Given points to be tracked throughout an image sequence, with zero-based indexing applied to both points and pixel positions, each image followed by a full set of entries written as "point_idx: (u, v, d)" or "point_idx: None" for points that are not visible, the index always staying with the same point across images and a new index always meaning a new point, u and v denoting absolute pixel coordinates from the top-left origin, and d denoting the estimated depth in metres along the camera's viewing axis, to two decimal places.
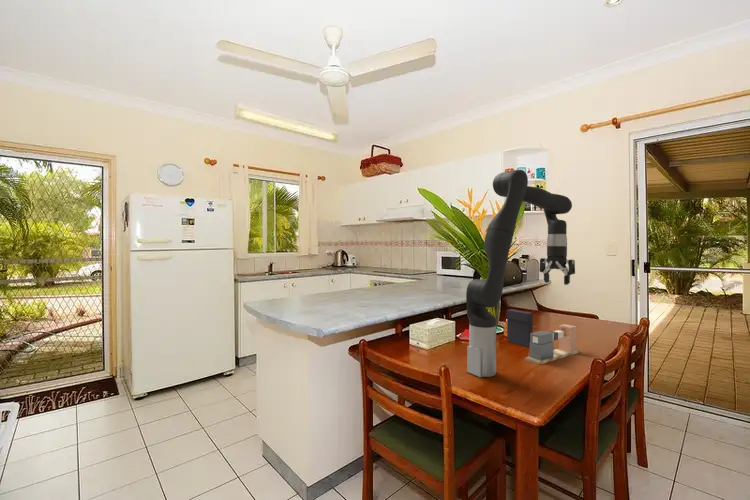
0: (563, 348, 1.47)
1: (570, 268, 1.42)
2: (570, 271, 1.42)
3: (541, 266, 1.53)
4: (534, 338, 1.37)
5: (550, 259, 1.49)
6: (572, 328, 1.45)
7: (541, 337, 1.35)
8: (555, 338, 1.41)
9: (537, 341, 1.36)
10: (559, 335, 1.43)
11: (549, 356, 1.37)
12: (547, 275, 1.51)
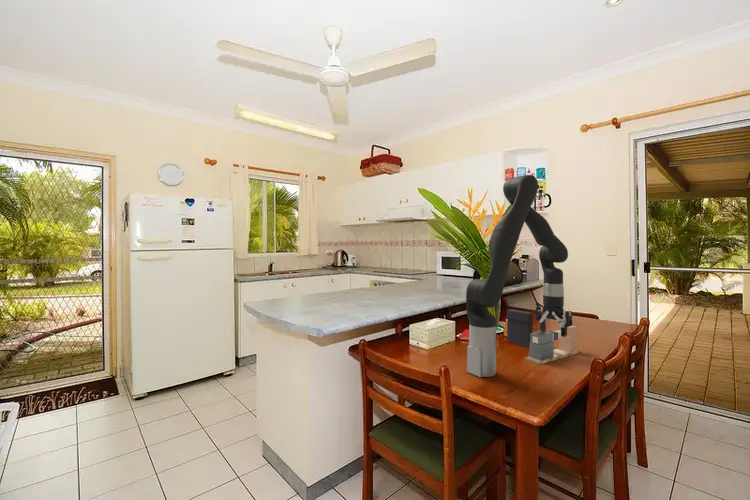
0: (563, 348, 1.47)
1: (567, 320, 1.36)
2: (567, 324, 1.36)
3: (537, 314, 1.47)
4: (534, 338, 1.37)
5: (546, 308, 1.43)
6: (572, 328, 1.45)
7: (541, 337, 1.35)
8: (555, 338, 1.41)
9: (537, 341, 1.36)
10: (559, 335, 1.43)
11: (549, 356, 1.37)
12: (543, 324, 1.46)
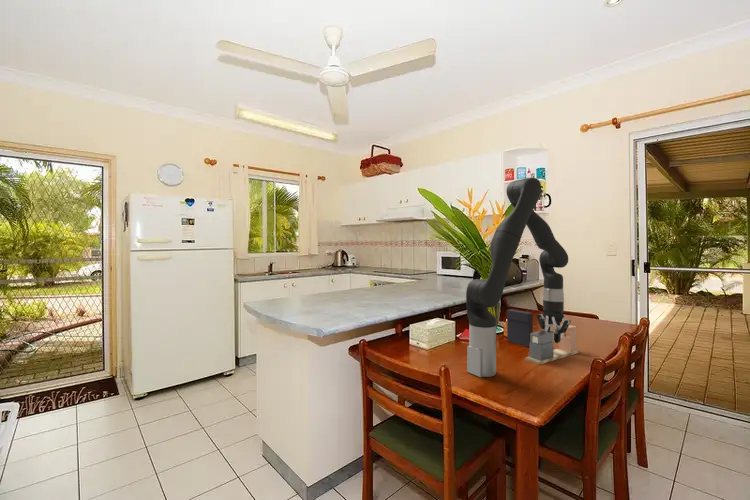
0: (563, 348, 1.47)
1: (563, 328, 1.37)
2: (560, 330, 1.38)
3: (541, 323, 1.45)
4: (534, 338, 1.37)
5: (546, 313, 1.43)
6: (572, 328, 1.45)
7: (541, 337, 1.35)
8: None
9: (537, 341, 1.36)
10: None
11: (549, 356, 1.37)
12: None
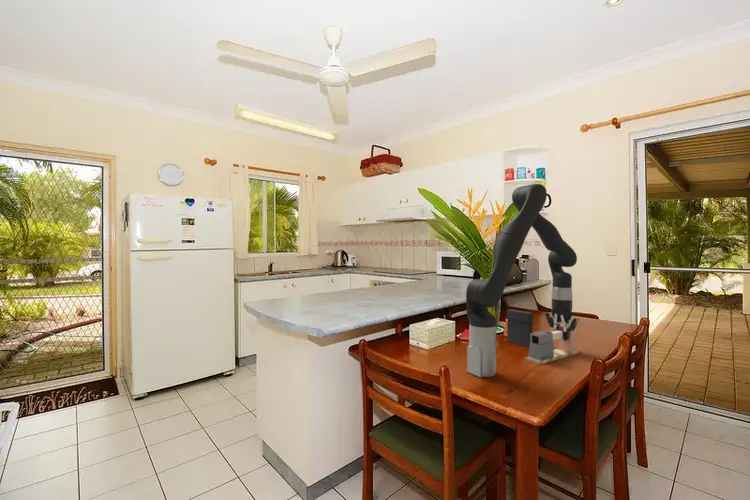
0: (563, 348, 1.47)
1: (571, 326, 1.40)
2: (569, 328, 1.41)
3: (549, 321, 1.49)
4: None
5: (555, 312, 1.46)
6: None
7: (541, 337, 1.35)
8: None
9: None
10: None
11: (549, 356, 1.37)
12: None
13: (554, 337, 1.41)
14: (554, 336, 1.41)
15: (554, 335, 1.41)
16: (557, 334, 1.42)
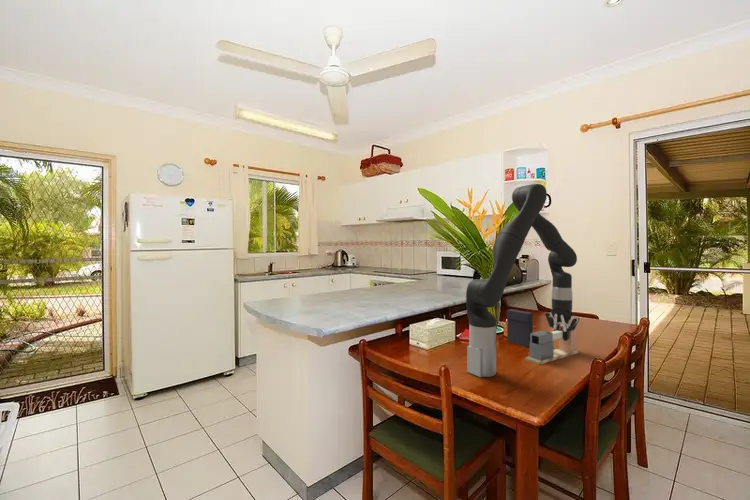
0: (563, 348, 1.47)
1: (571, 326, 1.40)
2: (569, 328, 1.41)
3: (549, 321, 1.49)
4: None
5: (555, 312, 1.46)
6: None
7: (541, 337, 1.35)
8: None
9: None
10: None
11: (549, 356, 1.37)
12: None
13: (554, 337, 1.41)
14: (554, 336, 1.41)
15: (554, 335, 1.41)
16: (557, 334, 1.42)
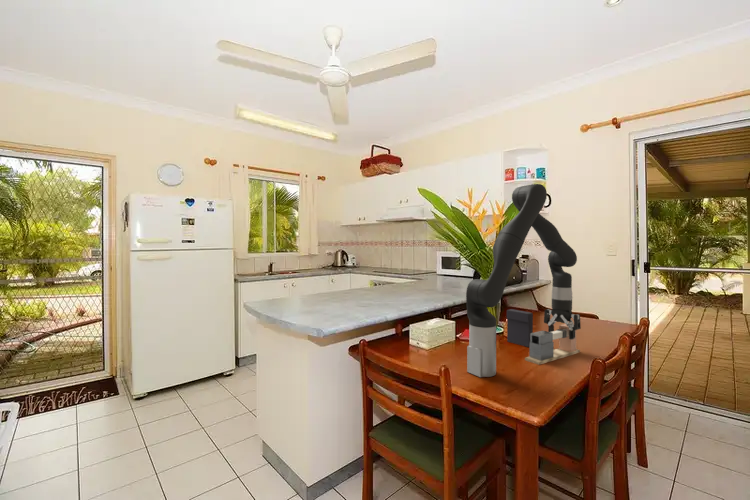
0: (563, 348, 1.47)
1: (575, 323, 1.39)
2: (575, 327, 1.39)
3: (546, 317, 1.50)
4: None
5: (555, 312, 1.46)
6: None
7: (541, 337, 1.35)
8: (564, 336, 1.44)
9: None
10: (568, 333, 1.46)
11: (549, 356, 1.37)
12: (552, 327, 1.49)
13: (554, 337, 1.41)
14: (554, 336, 1.41)
15: (554, 335, 1.41)
16: (557, 334, 1.42)
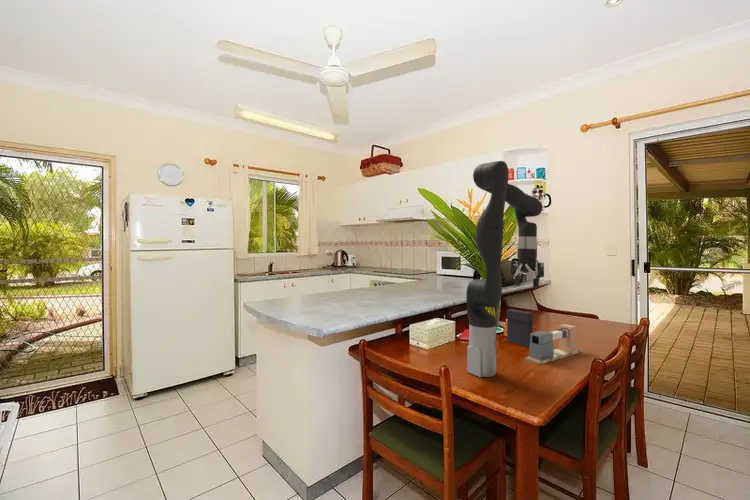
0: (563, 348, 1.47)
1: (539, 271, 1.40)
2: (539, 274, 1.40)
3: (512, 269, 1.51)
4: None
5: (520, 262, 1.48)
6: (572, 328, 1.45)
7: (541, 337, 1.35)
8: (564, 336, 1.44)
9: None
10: (568, 333, 1.46)
11: (549, 356, 1.37)
12: (518, 278, 1.50)
13: (554, 337, 1.41)
14: (554, 336, 1.41)
15: (554, 335, 1.41)
16: (557, 334, 1.42)
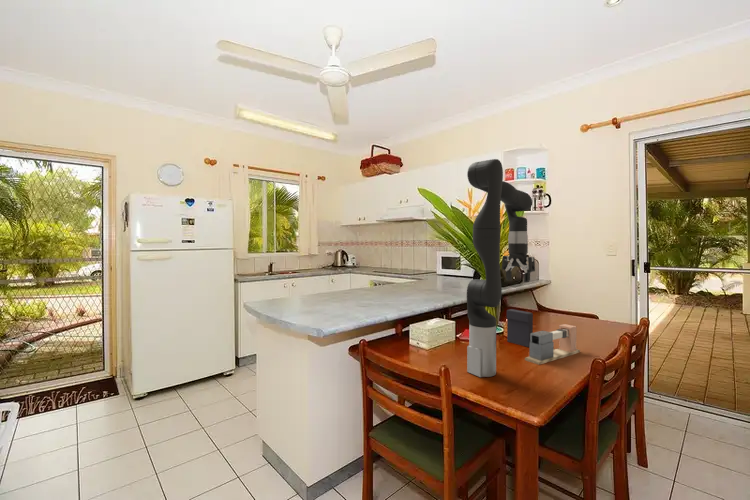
0: (563, 348, 1.47)
1: (530, 265, 1.41)
2: (530, 268, 1.41)
3: (503, 264, 1.52)
4: None
5: (511, 257, 1.48)
6: (572, 328, 1.45)
7: (541, 337, 1.35)
8: (564, 336, 1.44)
9: None
10: (568, 333, 1.46)
11: (549, 356, 1.37)
12: (509, 273, 1.50)
13: (554, 337, 1.41)
14: (554, 336, 1.41)
15: (554, 335, 1.41)
16: (557, 334, 1.42)
